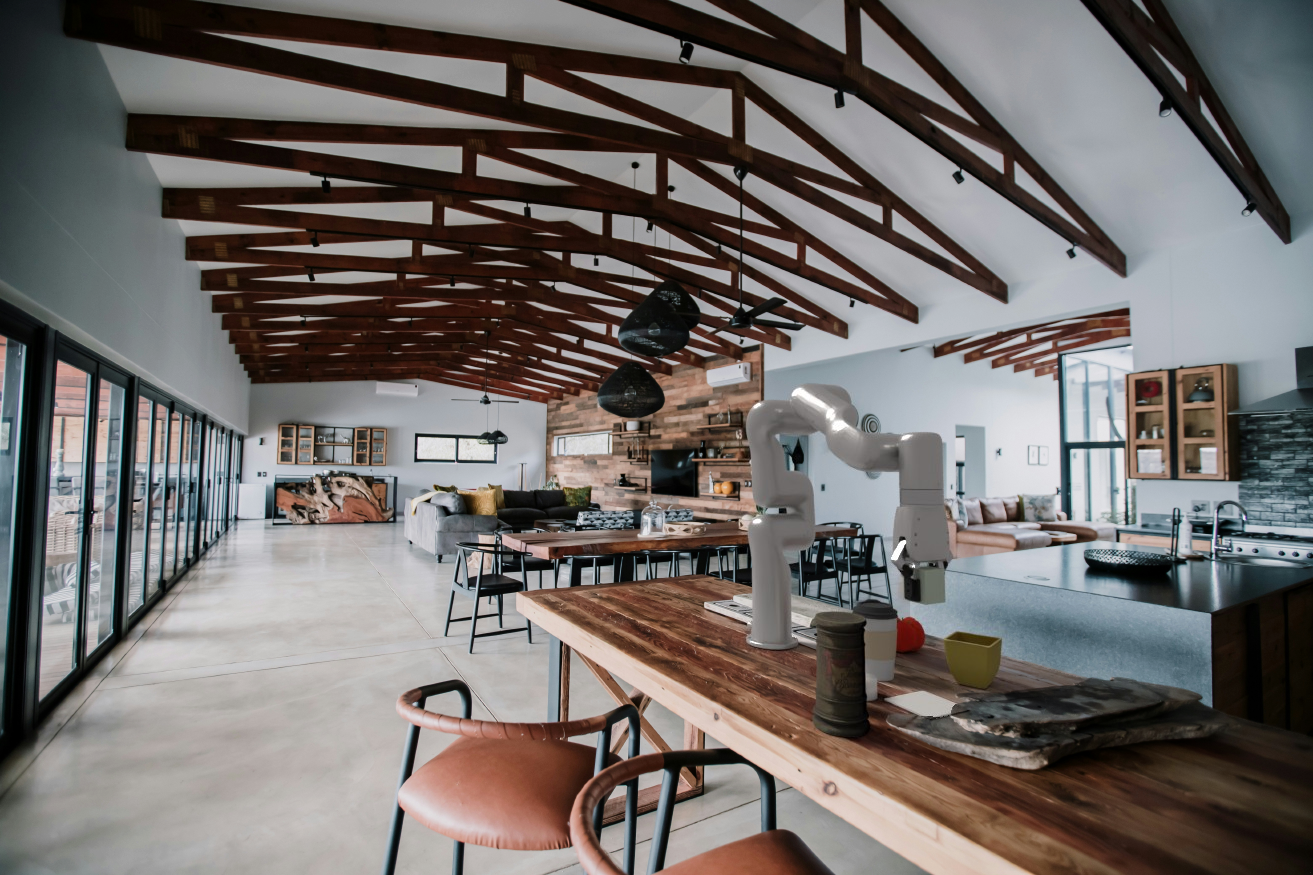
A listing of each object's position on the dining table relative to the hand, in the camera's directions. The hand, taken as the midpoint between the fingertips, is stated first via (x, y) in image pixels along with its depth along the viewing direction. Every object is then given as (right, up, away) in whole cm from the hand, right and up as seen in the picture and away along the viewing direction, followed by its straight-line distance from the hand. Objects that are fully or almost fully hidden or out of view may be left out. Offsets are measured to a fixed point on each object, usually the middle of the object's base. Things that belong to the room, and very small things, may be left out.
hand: (923, 598), depth 111 cm
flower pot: (+15, -20, +10) cm, 27 cm away
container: (-18, -19, -10) cm, 28 cm away
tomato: (+10, -21, +34) cm, 41 cm away
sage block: (0, -1, 0) cm, 1 cm away
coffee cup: (-3, -20, +15) cm, 25 cm away
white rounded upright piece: (-10, -20, +4) cm, 22 cm away
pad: (0, -19, -1) cm, 19 cm away
